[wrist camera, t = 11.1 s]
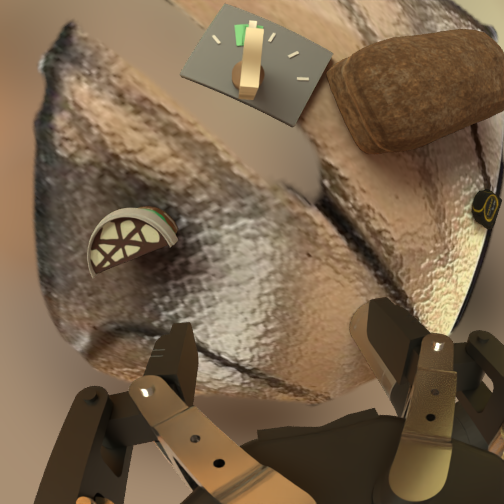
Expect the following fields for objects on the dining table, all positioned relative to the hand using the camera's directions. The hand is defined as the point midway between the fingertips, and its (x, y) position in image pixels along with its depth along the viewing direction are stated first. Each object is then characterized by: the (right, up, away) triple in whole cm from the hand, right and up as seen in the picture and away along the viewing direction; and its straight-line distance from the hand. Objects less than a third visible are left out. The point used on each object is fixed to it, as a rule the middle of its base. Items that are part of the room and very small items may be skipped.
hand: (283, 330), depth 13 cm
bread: (+24, +30, +24) cm, 45 cm away
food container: (-17, +8, +28) cm, 34 cm away
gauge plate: (-1, +30, +22) cm, 37 cm away
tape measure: (+43, +12, +31) cm, 55 cm away
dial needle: (-2, +29, +21) cm, 35 cm away
